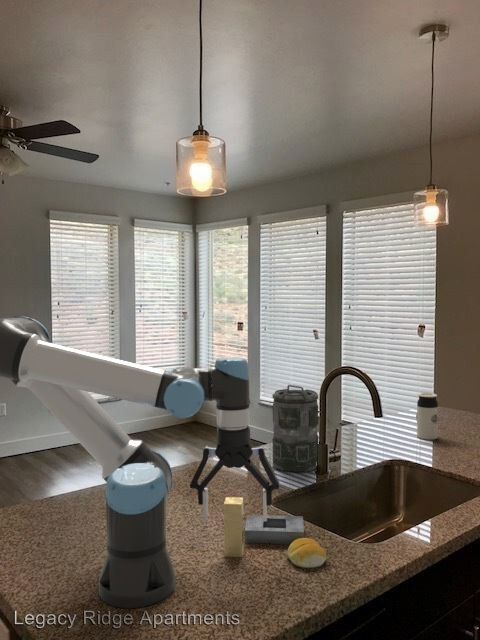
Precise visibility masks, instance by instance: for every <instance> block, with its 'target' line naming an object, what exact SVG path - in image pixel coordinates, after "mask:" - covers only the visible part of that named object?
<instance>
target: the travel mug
mask: <svg viewBox="0 0 480 640" xmlns="http://www.w3.org/2000/svg"><path fill="white" fill-rule="evenodd" d="M417 395H418V400H417V401H416V402H417V403H416V405H417V408H416V409H417V410H416V411H417V412H416V413H417V415H416V416H417V417H416V419H417V421H416V437H418V439H421V440H426V441H428V440H429V441H434V440H436V439H438V437H439V436H438V435H439V433H438V430H439V429H438V425H439V424H438V423H439V421H438V418H439V416H438V413H439V410H438V409H439V407H438V405H439V402H438V401H437V397H438V394H435V393H433V392H432V393H431V392H421V393H417Z"/></svg>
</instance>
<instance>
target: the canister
mask: <svg viewBox="0 0 480 640" xmlns="http://www.w3.org/2000/svg"><path fill="white" fill-rule="evenodd" d="M290 387H291V388H296V389H290ZM271 397H272V398H273V399H272V400H273V403H272V423H273V436H272V445H271V446H272V465H273V466H274V468H275V469H277V468H278V469H277V470H279V469H280V471H282V470H285V471H286V470H287V471H288V472H297V473H298V472H303V471H304V472H303V473H308V472H311V470H312V471H314V470H316V469H315V468H317V467H316V462H317V444H318V443H319V435H318V425H319V404H318V399H319V395H318V393H317V392H316V391H315V390H311V389H304V387H303V386H299V385H293V384H288V385H287V386H286V388H283V389H279V390H275V391H274V392H273V394H272V396H271ZM307 471H308V472H307Z"/></svg>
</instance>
